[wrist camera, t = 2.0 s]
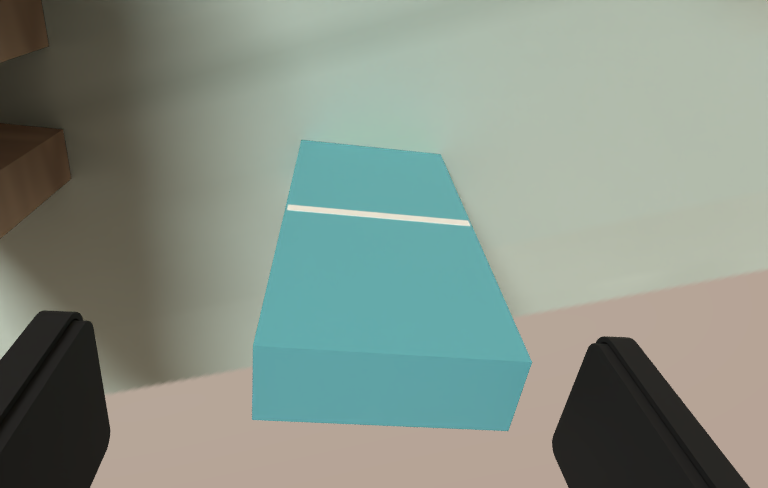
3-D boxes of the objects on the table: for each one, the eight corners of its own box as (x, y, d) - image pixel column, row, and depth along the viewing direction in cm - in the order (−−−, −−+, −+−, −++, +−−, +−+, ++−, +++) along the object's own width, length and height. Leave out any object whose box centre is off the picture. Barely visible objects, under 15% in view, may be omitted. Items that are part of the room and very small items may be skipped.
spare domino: (301, 139, 19) (253, 344, 9) (440, 153, 19) (532, 361, 10) (299, 187, 20) (251, 420, 10) (431, 199, 20) (508, 431, 11)
